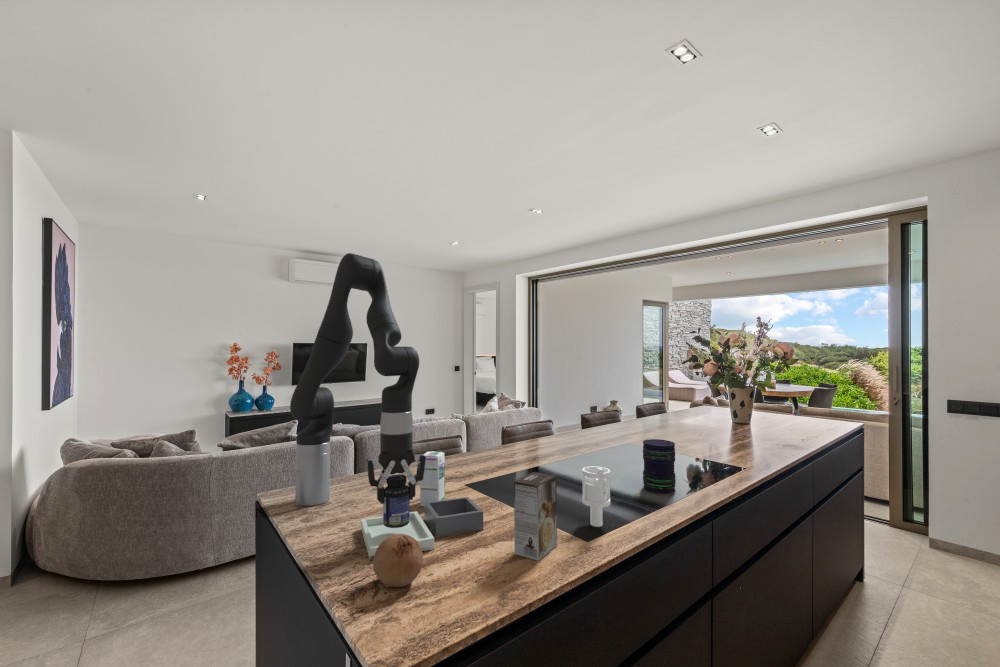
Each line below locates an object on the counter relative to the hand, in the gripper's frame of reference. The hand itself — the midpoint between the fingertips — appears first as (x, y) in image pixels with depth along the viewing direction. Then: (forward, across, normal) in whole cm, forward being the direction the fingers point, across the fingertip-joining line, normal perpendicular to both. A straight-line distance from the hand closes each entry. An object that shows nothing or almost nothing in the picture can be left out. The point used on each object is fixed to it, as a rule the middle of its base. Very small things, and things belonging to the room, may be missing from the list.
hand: (396, 500), depth 107 cm
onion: (+9, +3, +20) cm, 22 cm away
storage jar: (+9, -84, -5) cm, 85 cm away
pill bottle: (+6, 0, 0) cm, 6 cm away
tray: (+9, 0, 0) cm, 9 cm away
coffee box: (+9, -28, +18) cm, 35 cm away
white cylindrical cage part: (+9, -49, +11) cm, 51 cm away
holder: (+9, -15, -3) cm, 18 cm away
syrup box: (+9, -14, -20) cm, 26 cm away
